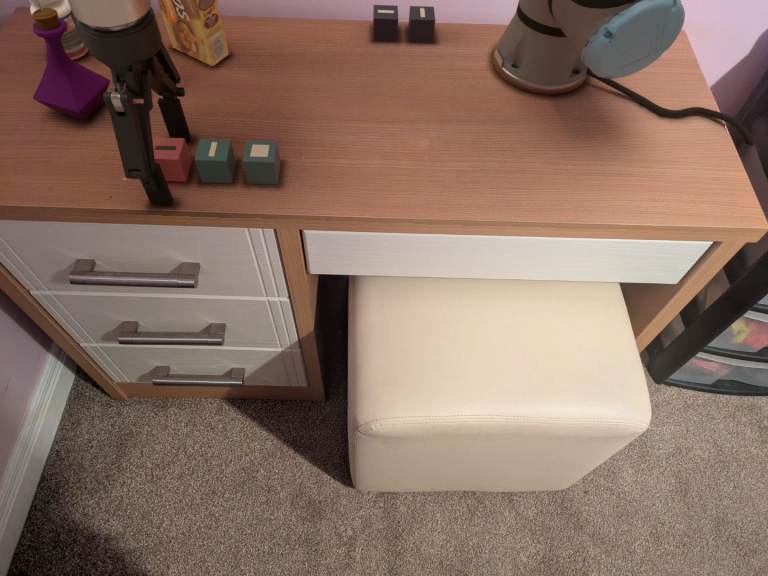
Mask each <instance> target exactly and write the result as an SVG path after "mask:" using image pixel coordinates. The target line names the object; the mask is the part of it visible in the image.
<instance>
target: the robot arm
mask: <svg viewBox="0 0 768 576" xmlns="http://www.w3.org/2000/svg"><path fill="white" fill-rule="evenodd" d="M68 2H69V5H70V7H71V9H72V11H73V14H74V16H75V17H76V18H77V19H78V20H77V24H78V27H79V29H80V31H81V34H82V36H83V38H84V41H85V43H86V45H87V48H88V52H89V53H90V55H91V57H93V58H94V59H95V60H96V61H98V62H100V63H101V64H103V65H105V66H106V67H107V68H108V69H109V70H110V74H111V81H112V84H113V86H114V89H113V91H112V92H111V91H106V92H105V93H104V99H103V102H104V104H105V106H106V108H107V110H108V113H109V115H110V119H111V123H112V127H113V131H114V135H115V140H116V144H117V148H118V152H119V155H120V156H119V157H120V160H121V165H122V168H123V172H124V176H125V178H126V179H137V180H140V183H141V185H142V187H143V189H144V191H145V194H146V196H147V198H148V201H149V203H150V205H157V206H158V205H159V206H160V205H162V206H173V205H174V201H175V200H174V198H173V194H172V192H171V191H170V190H171V189H170V188H169V185H168V181H166V180H165V177H164V175H163V172H162V169H161V167H160V164H159V163H155V157H154V149H153V132H152V131H153V130H152V123H151V114H150V113H151V111H152V110H153V108H154V103H153V102H154V101H153V95H152V94H153V93H152V91H153V92H155V94H156V95H157V96H159V97H158V98H157V105H158V108H159V111H160V114H161V116H162V119H163V123H164V126H165V128H166V130H167V133H168V136H169V138H184V139H185V142H191V141H192V134H191V132H190V129H189V125H188V121H187V119H186V116H185V112H184V109H183V106H182V102H181V100H180V98H185V96H186V90H185V87H181V86H178V85H180V84H181V82H182V77H181V75H180V73H179V71H178V69H177V67H176V65H175V63H174V61H173V59H172V57H171V56H170V53H169V51H168V50H167V48H166V46H165V44H164V42H163V38H162V33H161V31H160V27H159V24H158V21H157V18H156V14H155V11H154V9H153V7H152V0H68ZM685 19H686V12H685V7H684V5H683V4H682V0H518V2H517V6H516V11H515V14H514V15H513V16H512V18H511V20H510V21H509V23H508V25H507V26H506V28H505V30H504V31H503V33H502V34H501V36H500V38H499V39H498V41H497V43H496V45H495V48H494V49H495V50H494V54H493V60H492V62H493V66H494V68H495V70H496V72H497V74H498V75H499V76H500V77H501V78H502V79H503V80H504V81H506V82H508V84H510V85H512V86H513V87H516V88H518V89H520V90H523V91H525V92H530V93H533V94H539V95H559V94H561V95H562V94H564V93H569V92H572V91H573V90H576V89H577V88H578V87H580V86H581V85H582V84H583V83H584V82H585V80H586V78H587V76H590V77H591V78H594V79H595V80H597V81H599V82H601V83H603V84H605V85H607V86H609V87H610V88H612V89H614V90H616V91H618V92H620V93H621V94H623V95H625V96H627V97H629V98H631V99H632V100H634V101H637V102H638V103H640V104H642V105H643V106H645V107H646V108H648V109H650V110H651V111H653V112H655V113H657V114H659V115H663V116H667V117H683V116H688V115H691V114H699V115H703V116H707V117H709V118H714V119H718V120H720V121H723V122H725V123H727V124H729V125H731V126H732V127H734V128H735V129H736V130H737V131H738V132H739V133H740V134H741V135H742V137H743V139H744V141H745V144H746V145H747V146H750V147H754V146H755V141H754V138H753V137H752V134H751V133H750V131H749V130H748V129H747V127H746V126H745V125H744V124H743V123H742V122H741V121H739V120H738V119H736V118H735V117H733V116H731V115H728V114H727V113H724V112H720V111H717V110H714V109H710V108H706V107H702V106H701V107H700V106H692V107H686V108H683V109H670V108H669V109H668V108H665V107H662V106H660V105H658V104H656V103H655V102H653V101H651V99H649V98H647V97H644V96H643V95H641V94H639V93H638V92H636V91H634V90H632V89H630V88H628V87H626V86H624V85H623V84H621V83H619V82H617V81H616V79H622V78H626V77H629V76H632V75H634V74H637V73H639V72H641V71H642V70H644V69H646V68H647V67H649V66H650V65H652V64H654V63H655V62H656V61H657V60H658V59H660V57H662V55H664V53H665V52H666V51H667V50H669V48H670V47H672V45H673V44H674V43H675V41H676V40H677V39H678V37H679V35H680V33H681V31H682V29H683V26H684V23H685ZM179 97H180V98H179ZM136 100H143V102H136Z"/></svg>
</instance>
